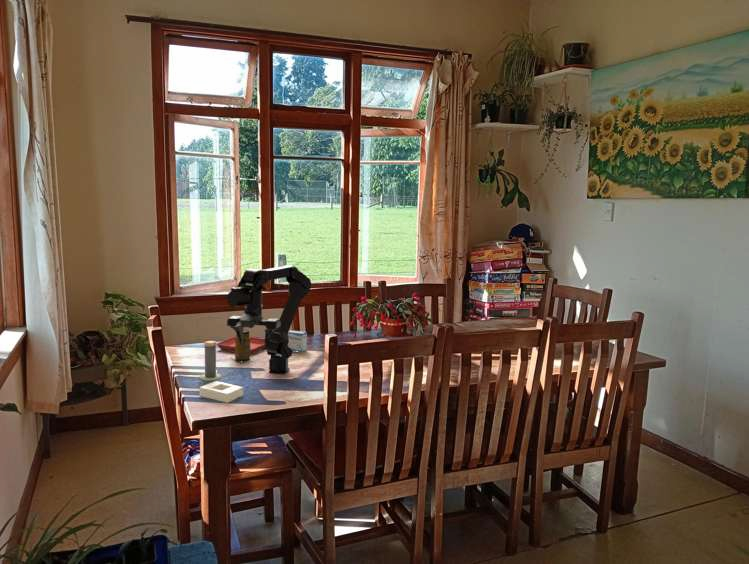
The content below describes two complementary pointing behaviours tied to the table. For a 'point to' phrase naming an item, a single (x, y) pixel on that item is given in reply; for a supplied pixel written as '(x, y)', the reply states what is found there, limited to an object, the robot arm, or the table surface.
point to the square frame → (221, 391)
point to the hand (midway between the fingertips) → (253, 345)
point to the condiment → (243, 348)
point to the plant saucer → (230, 344)
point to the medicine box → (297, 340)
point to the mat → (210, 378)
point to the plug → (210, 359)
